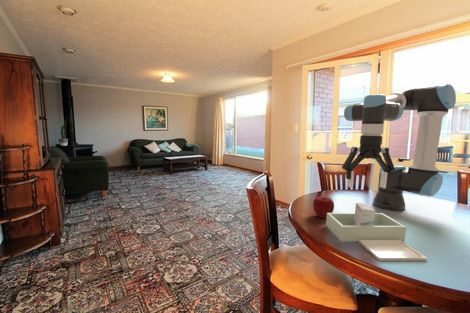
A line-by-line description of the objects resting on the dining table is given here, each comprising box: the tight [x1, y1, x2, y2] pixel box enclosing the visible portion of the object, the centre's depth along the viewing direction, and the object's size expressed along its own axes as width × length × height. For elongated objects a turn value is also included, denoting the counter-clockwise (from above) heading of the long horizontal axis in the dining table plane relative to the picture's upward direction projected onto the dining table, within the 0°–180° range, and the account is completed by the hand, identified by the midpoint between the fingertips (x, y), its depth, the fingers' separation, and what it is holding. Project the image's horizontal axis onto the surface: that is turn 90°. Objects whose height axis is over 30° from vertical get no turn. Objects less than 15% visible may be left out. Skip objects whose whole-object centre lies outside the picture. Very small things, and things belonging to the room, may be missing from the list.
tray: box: [358, 240, 428, 262], centre depth 82 cm, size 16×12×1 cm
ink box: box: [353, 202, 376, 226], centre depth 95 cm, size 9×5×12 cm, turn 168°
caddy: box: [325, 212, 407, 242], centre depth 95 cm, size 25×14×6 cm, turn 91°
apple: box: [312, 196, 335, 219], centre depth 112 cm, size 10×10×10 cm
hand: (366, 187), depth 93 cm, fingers open, 13 cm apart
